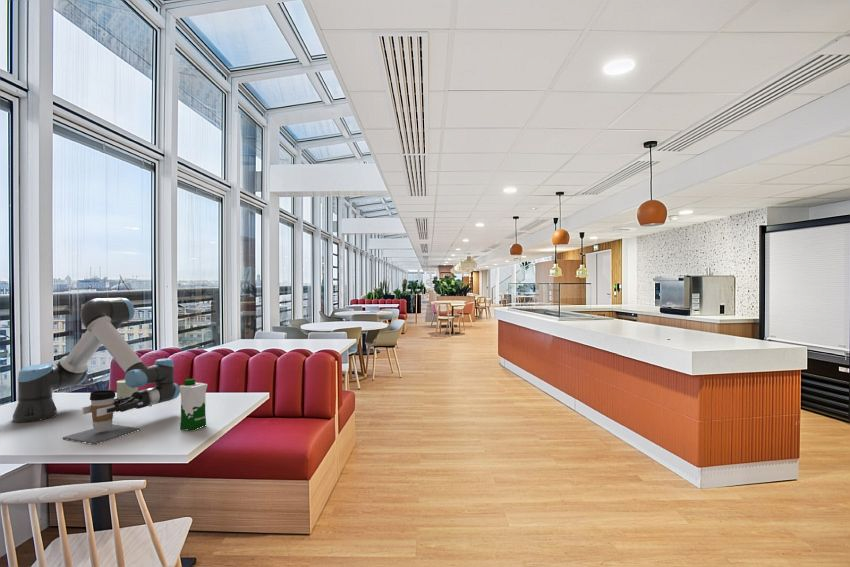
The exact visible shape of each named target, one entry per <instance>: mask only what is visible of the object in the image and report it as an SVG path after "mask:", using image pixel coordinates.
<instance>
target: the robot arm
mask: <svg viewBox="0 0 850 567" xmlns="http://www.w3.org/2000/svg"><path fill="white" fill-rule="evenodd" d="M133 304H134V303H132V301H131V300H130V299H128V298H126V297H103V298H101V297H96V298H92V299H90V300H88V301H87V302H85V303H84V304H83V305H82V307H81V309H80V313H79V314H80V321H81V323H82V325H83V326H84V328H85V329H86V331H85V332H84V333H83V335H82V336H81V337H80V339H79V340H78V341H77V342H76V343H75V345H74V347H73V348H72V350H71V351H70V352H69V353H68V355H65V356H62V357H61V358H60V359H59V361H58V362H57V363H56V364H52V363H38V364H33V365H28V366H26V367H23V368H21V369H20V370H19V372H18V377H17V383H18V385H17V386H18V387H17V389H18V390H17V395H18V396H17V399H18V401H17V405H16V407H15V409H14V411H13V412H14V413H13V414H12V422H14V421H15V423H27V421H30V422H35V421H34V420H37V421H41V420H40V419H43V420H46V419H45V418H47V419H50V418H49V417H51V418H53V417H52V416H54V417H56V416H57V415H58V409H57V407H56V404H55V402H54V399H53V391H57V390H61V389H67V388H72V387H75V386H79V385H80V384H82V383H83V382H85V381H86V380H87V377H88V374H89V373H88V372H89V368H88V367H89V366H88V363H89V362H90V360H91V359H92V357H93V356H94V355H95V353H96V352H97V351H98V350H99V348H100V347H101V346H103V347H104V348H105V349H106V351H107V352H108V353H109V354H110V356H111V357H112V358H113V360H114V361H115V362H116V363H117V365H119V367H120V368H121V369H122V370H123V372H124V373H125V375H124V379H123V380H125V383H126V385H127V386H129V387H132V388H134V387H138V388H139V387H140V388H141V387H143V386H146V385H149V384H154V387H149V388H144V389H141V390H138V391H136V392H134V393H133V394H132V396H131V397H125V398H122V397H120V398H117V397H116V398H114V405H112V406H108V407H104V408H100V409H97V416H102V415H106V414H109V413H113V414H114V413H115V412H116V413H119V412H120V413H123V412H126V411H129V410H133V409H137V410H138V409H139V410H140V409H143V408H146V407H152V406H153V405H157V404H162V403H165V402H166V403H167V402H171V401H173V400H176V399H177V398H179V395H180V389H179V386H180V385H178V383H176V382H175V381H174V380H175V377H174V376H175V375H174V374H175V371H174V370H175V367H174V366H175V364H174V360H173V359H172V358H159V359H156V360H154V364H153V365H150V366H146V364H145V363H144V362H143V360H142V359H141V358H140V357H139V356H138V354H137V353H136V352H135V350H134V349H133V348H132V347H131V346H130V345H129V342H127V341H126V339H125V338H124V337H123V336H122V335H121V332H119V331H118V329H119V328H120V327H121V326H122V324H123V323H127V322H129V321H131V320H132V319H133V317H134V315H135V307H134V305H133ZM81 409H82V410H81V411H82V415H87V414H90V413H91V414H92V411H91V405H87V406H83V407H81ZM55 415H56V416H55Z"/></svg>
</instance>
